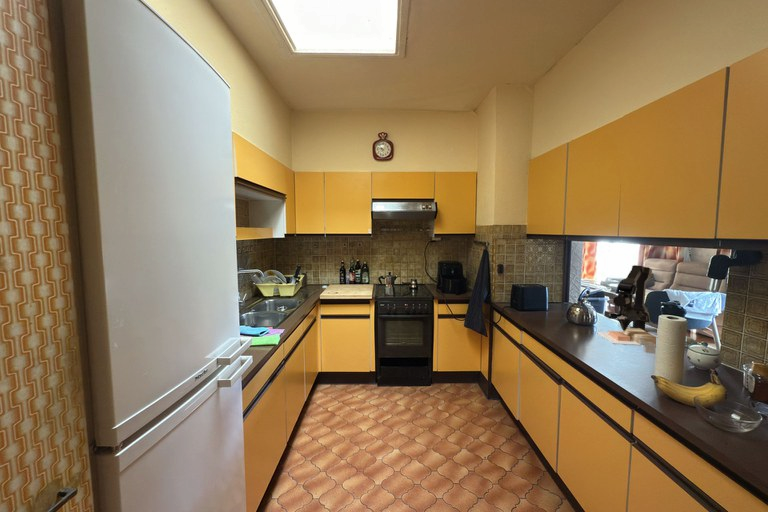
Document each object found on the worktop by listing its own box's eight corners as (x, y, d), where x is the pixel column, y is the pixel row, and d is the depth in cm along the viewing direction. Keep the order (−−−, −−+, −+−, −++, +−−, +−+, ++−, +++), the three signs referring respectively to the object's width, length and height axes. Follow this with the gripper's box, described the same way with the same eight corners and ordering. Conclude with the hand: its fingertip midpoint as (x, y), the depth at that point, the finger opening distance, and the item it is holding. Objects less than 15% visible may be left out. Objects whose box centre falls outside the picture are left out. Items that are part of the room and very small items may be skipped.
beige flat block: (653, 352, 152) (655, 337, 151) (655, 353, 151) (656, 338, 150) (636, 350, 155) (637, 335, 154) (638, 351, 153) (639, 336, 153)
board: (622, 334, 178) (622, 327, 177) (639, 335, 176) (640, 328, 176) (639, 344, 162) (640, 337, 162) (659, 345, 160) (659, 338, 160)
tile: (620, 331, 174) (620, 335, 175) (609, 330, 176) (608, 334, 176) (630, 336, 166) (629, 341, 166) (618, 336, 167) (617, 340, 167)
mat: (596, 332, 181) (596, 331, 181) (621, 333, 179) (621, 333, 179) (613, 343, 164) (613, 343, 164) (640, 345, 161) (640, 344, 161)
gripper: (615, 306, 162) (613, 334, 164) (654, 308, 159) (652, 336, 160) (604, 301, 173) (602, 327, 175) (641, 303, 170) (639, 329, 171)
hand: (624, 330), depth 170 cm, fingers closed
